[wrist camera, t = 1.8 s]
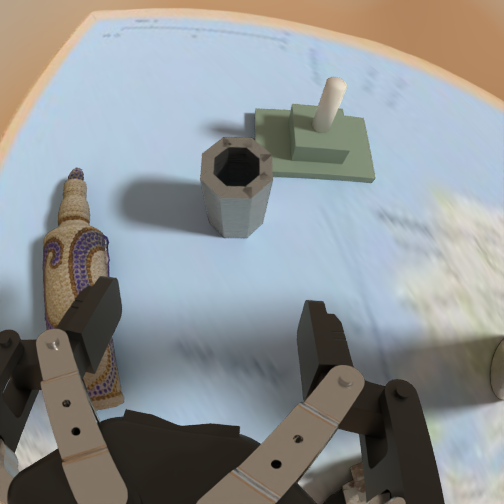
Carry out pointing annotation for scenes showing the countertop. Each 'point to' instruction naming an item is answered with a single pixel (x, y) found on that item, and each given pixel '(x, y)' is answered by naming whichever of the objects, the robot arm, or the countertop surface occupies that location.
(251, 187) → the hub
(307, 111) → the green peg stand
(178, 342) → the countertop surface
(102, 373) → the decorative bottle
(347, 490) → the caster wheel
